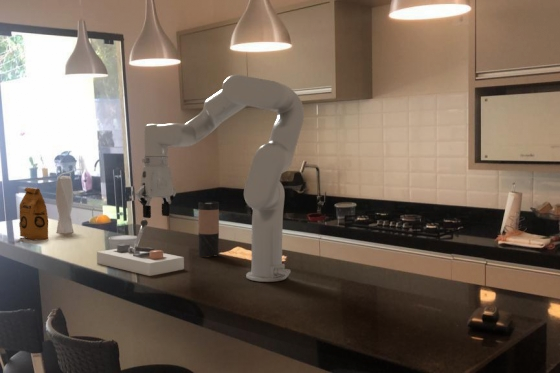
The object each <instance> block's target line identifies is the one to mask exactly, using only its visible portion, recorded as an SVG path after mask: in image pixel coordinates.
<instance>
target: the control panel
mask: <svg viewBox="0 0 560 373" xmlns="http://www.w3.org/2000/svg"><path fill="white" fill-rule="evenodd" d="M131 248H133V247H130V248H128V252H126V253H119V252H117V249H113V250H111V249H108V250H107V249H105V250H100V251H96V264H99V265H103V266H106V267H111V268H115V269H118V270H119V269H120V270H123V271H124V270H125V271H128V272H132V273H136V274H140V275H144V276H147V277H151V276H157V275H161V274H167V273H171V272H177V271H182V270H184V269H185V257H184V256H179V255H175V254H169V253H164V252H163V259H159V260H152V259H150V252H140V251H135V250H136V249H134V253H132V252H131V251H130V250H131Z"/></svg>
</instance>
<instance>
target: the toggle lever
mask: <svg viewBox="0 0 560 373" xmlns="http://www.w3.org/2000/svg"><path fill="white" fill-rule="evenodd" d="M148 224H149V222H148V220H147V219H145V218H144V219H141V221H140V227H139V231H138V234H137V235H136V236H137V239H136V241H135V244H134V247H133V248H131V250H130V251H131V252H132V253H134V249H136V247H139V243H140V240H141V238H142V236H143V233H144V229H145V228H146V227H147V226H148Z"/></svg>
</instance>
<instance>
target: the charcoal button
mask: <svg viewBox="0 0 560 373" xmlns="http://www.w3.org/2000/svg"><path fill="white" fill-rule="evenodd" d="M128 248H130V244H118V245H117V252H119V253H126V252H128Z"/></svg>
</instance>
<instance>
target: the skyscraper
mask: <svg viewBox="0 0 560 373" xmlns="http://www.w3.org/2000/svg"><path fill="white" fill-rule="evenodd" d="M65 174H69V176H68V175H65ZM55 200H56V201H55V202H56V207H57V212H58V220H57V221H58V222H57V227H56V234H65V235H67V234H72V233H74V228H73V222H72V216H71V214H72V210H73V204H74V187H73V180H72V172H69V171H68V172H62V173H60V174H59V175H58V176H57V180H56V188H55Z"/></svg>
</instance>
